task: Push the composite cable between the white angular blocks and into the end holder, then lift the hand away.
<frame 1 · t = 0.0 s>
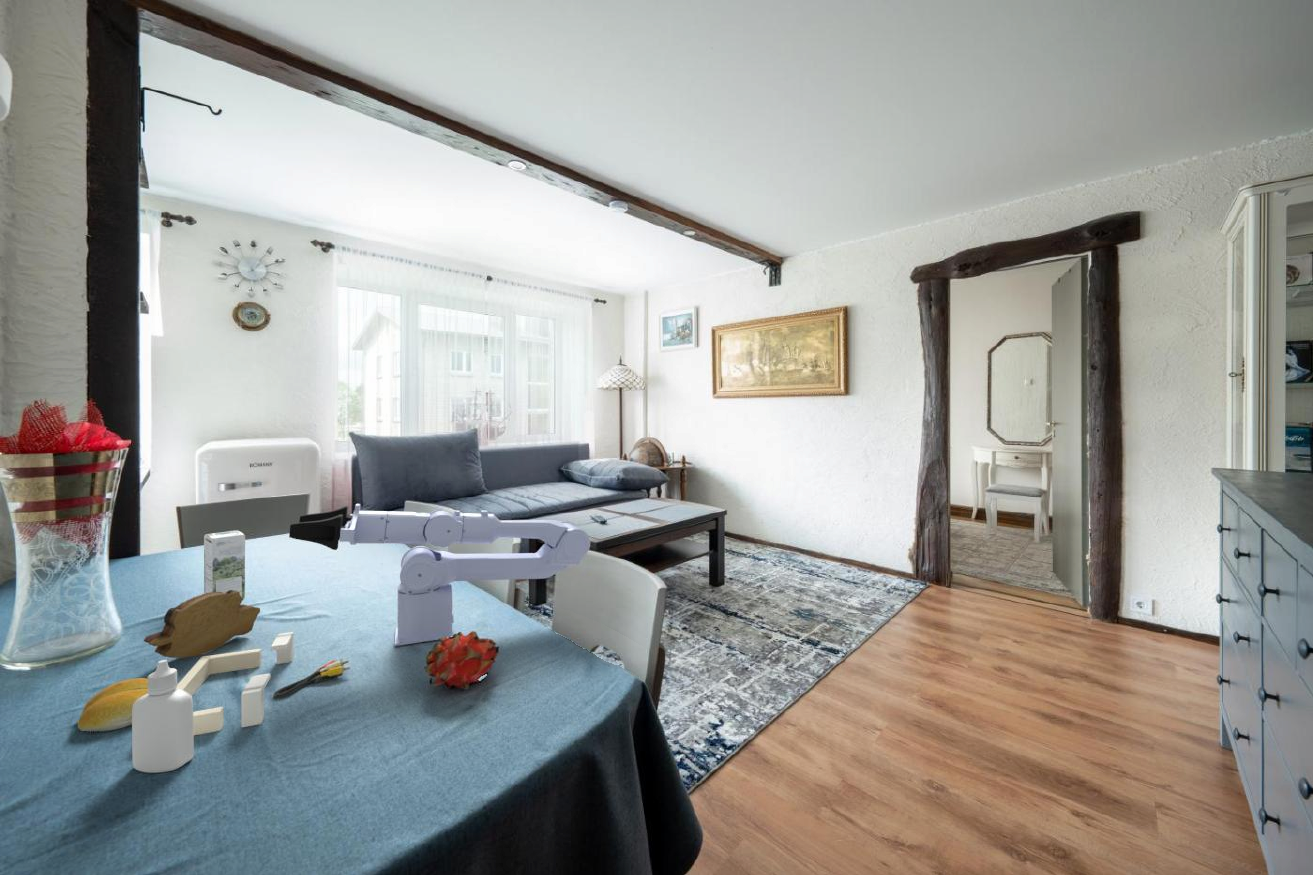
hand: (295, 526, 86), 22 cm above the table, tool horizontal, fingers open, 7 cm apart
syrup box: (225, 600, 111), on the table
composite cable: (311, 685, 78), on the table
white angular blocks: (270, 688, 76), on the table
bread roll: (124, 716, 69), on the table
eye dropper bottle: (163, 765, 59), on the table
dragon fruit: (463, 683, 79), on the table
end holder: (210, 698, 73), on the table
wooden carving: (205, 652, 87), on the table
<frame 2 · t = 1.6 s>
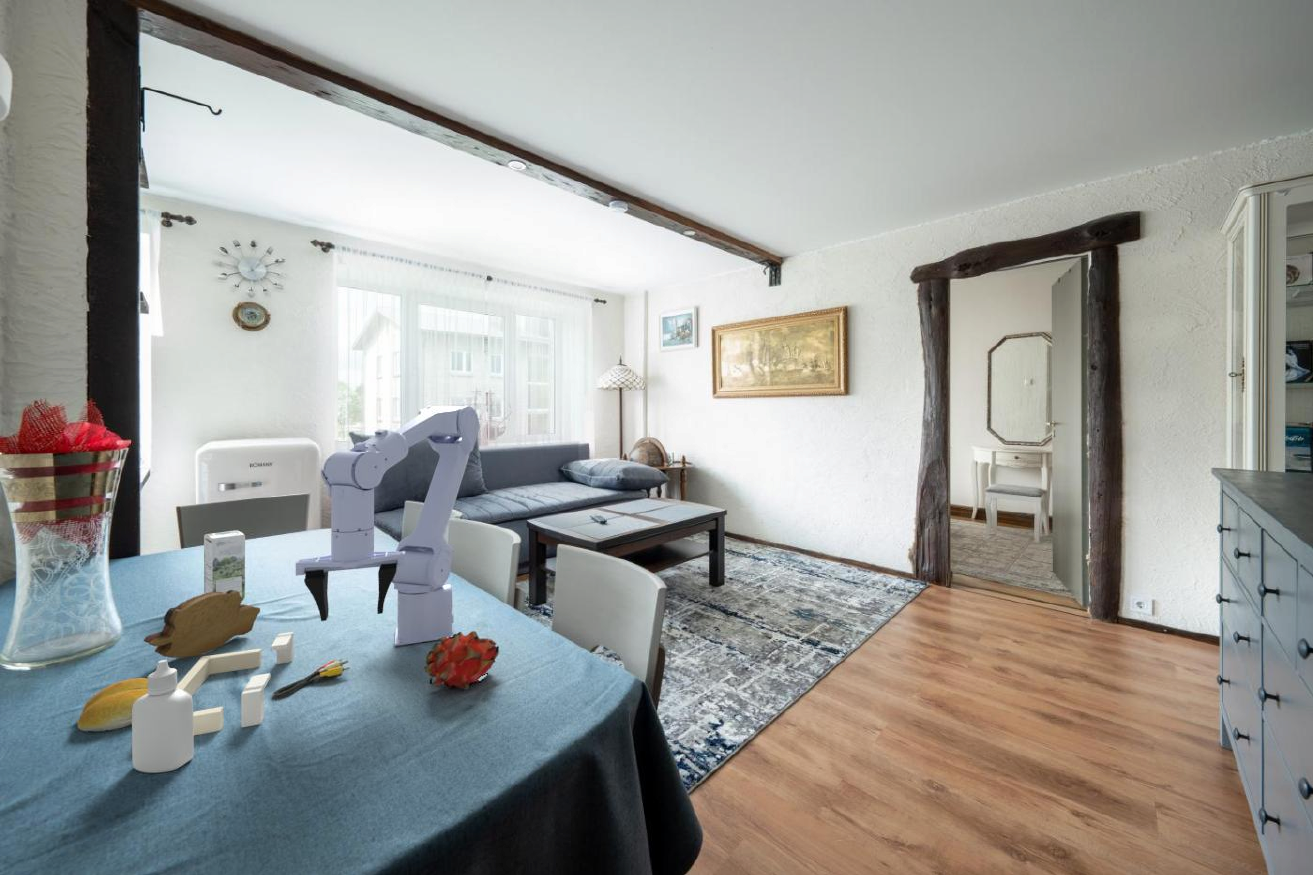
hand: (353, 615, 80), 9 cm above the table, tool pointing down, fingers open, 7 cm apart
nothing on the table moved.
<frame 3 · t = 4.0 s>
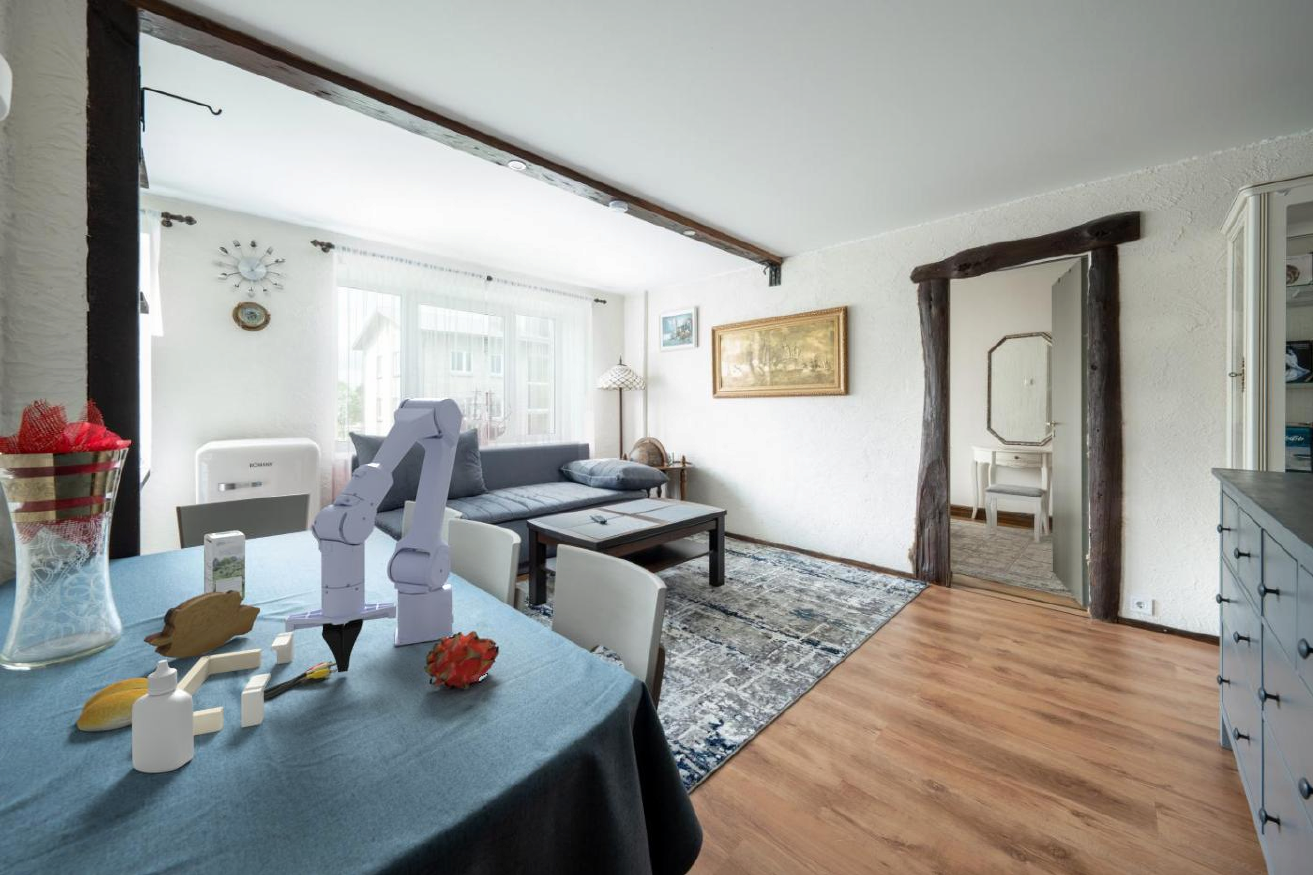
hand: (343, 669, 79), 1 cm above the table, tool pointing down, fingers closed
composite cable: (297, 686, 77), on the table, touching gripper
everything else where it was.
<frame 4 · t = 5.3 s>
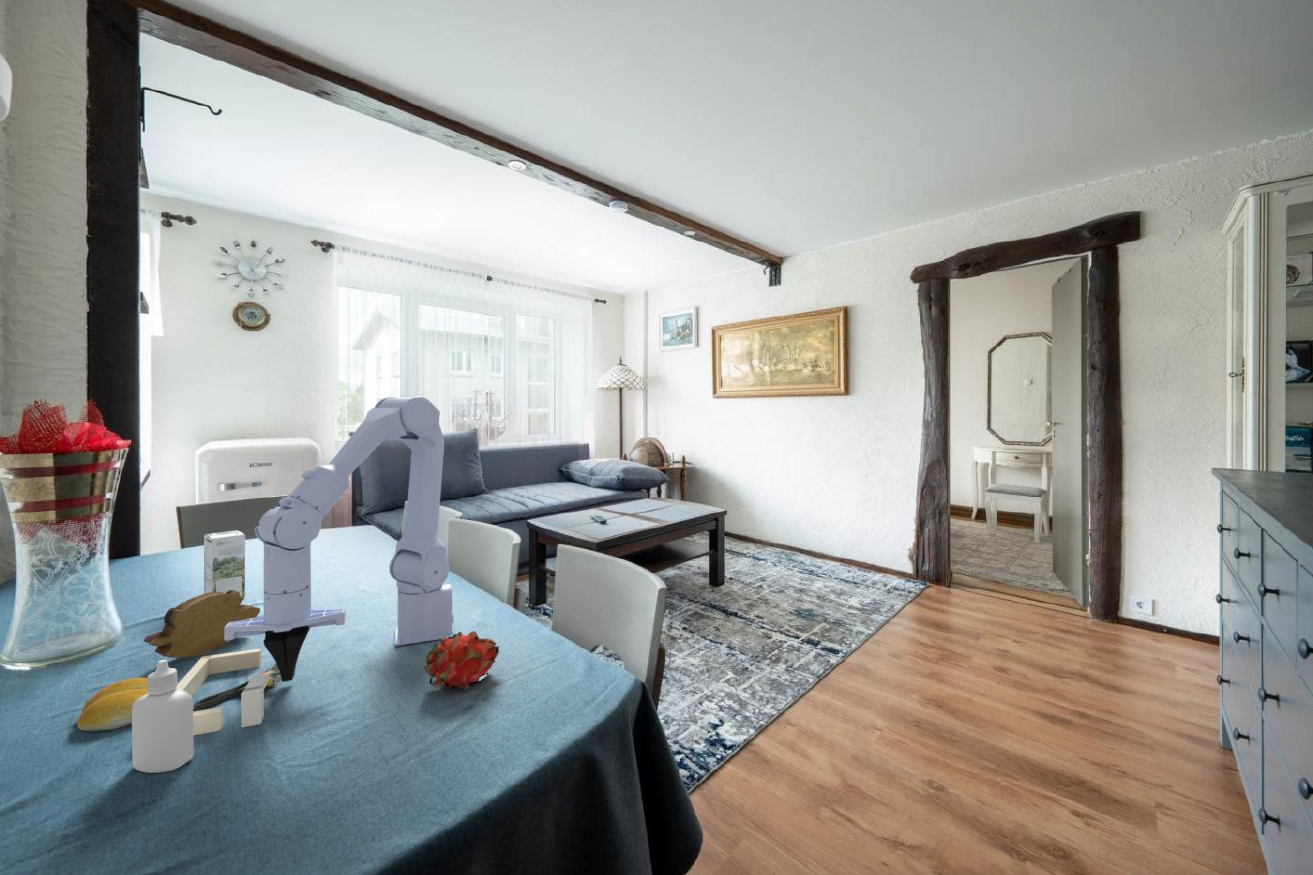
hand: (288, 678, 76), 1 cm above the table, tool pointing down, fingers closed
composite cable: (239, 695, 74), on the table, touching gripper
everything else where it was.
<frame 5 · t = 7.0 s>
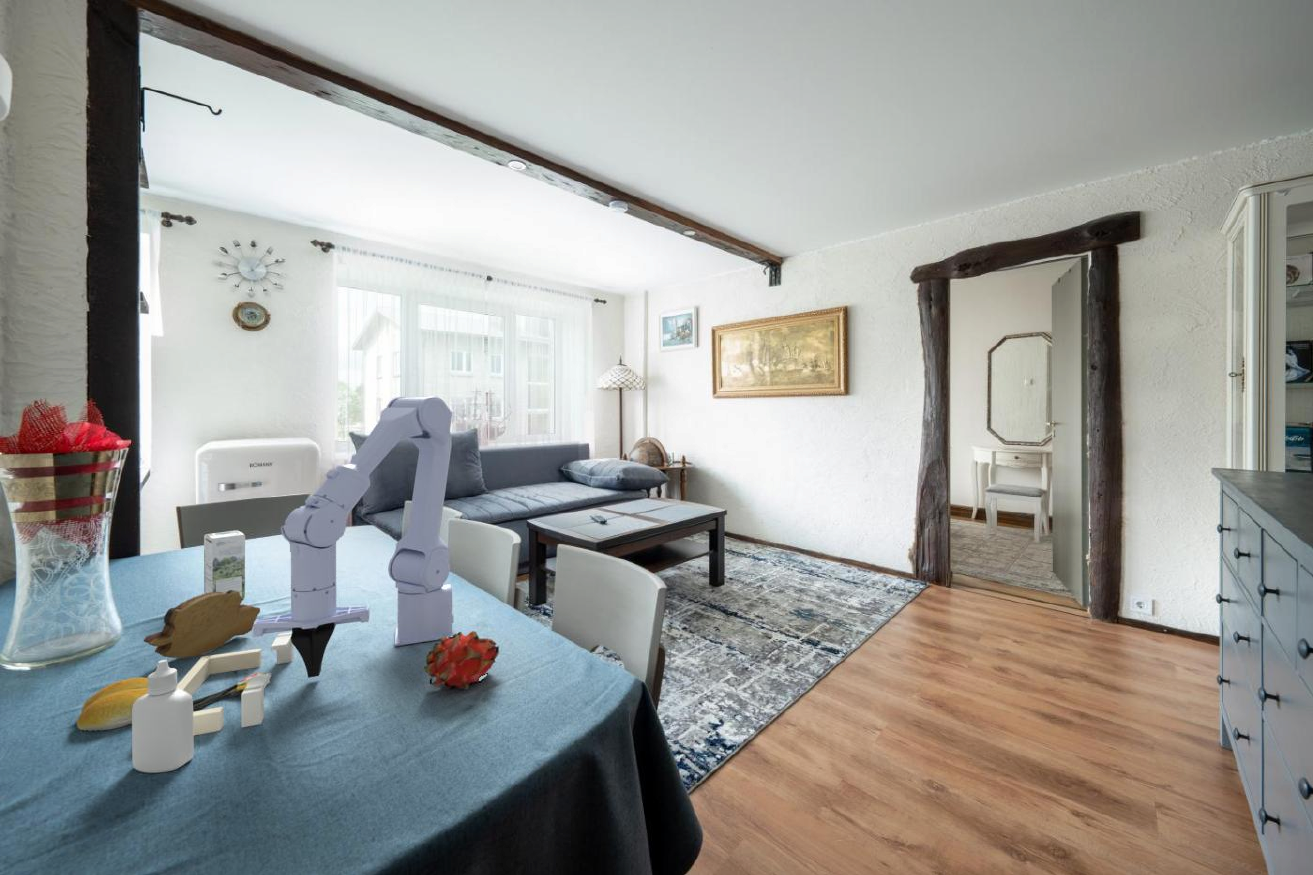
hand: (314, 673, 78), 1 cm above the table, tool pointing down, fingers closed
composite cable: (227, 698, 74), on the table
everything else where it was.
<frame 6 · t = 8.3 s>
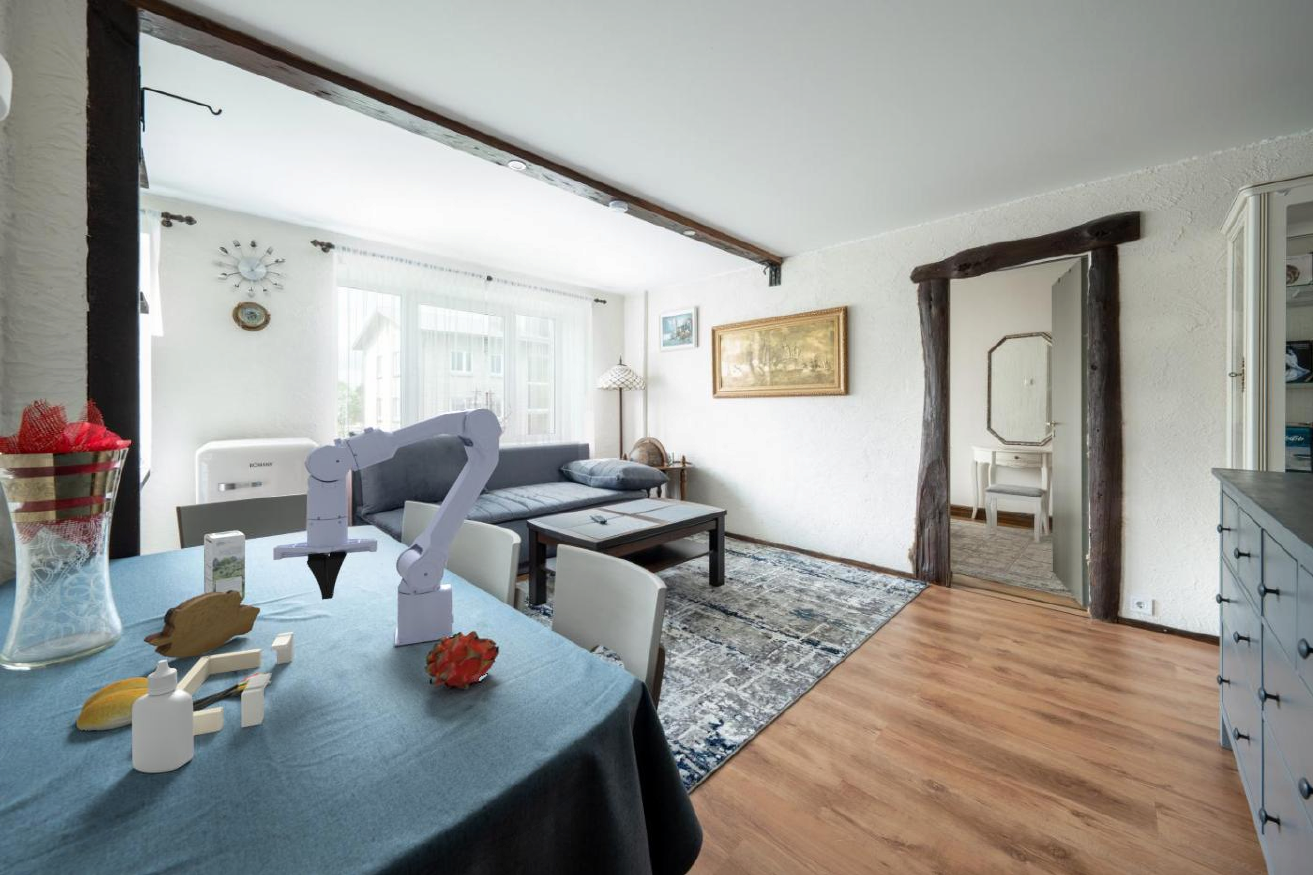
hand: (327, 597, 86), 10 cm above the table, tool pointing down, fingers closed
nothing on the table moved.
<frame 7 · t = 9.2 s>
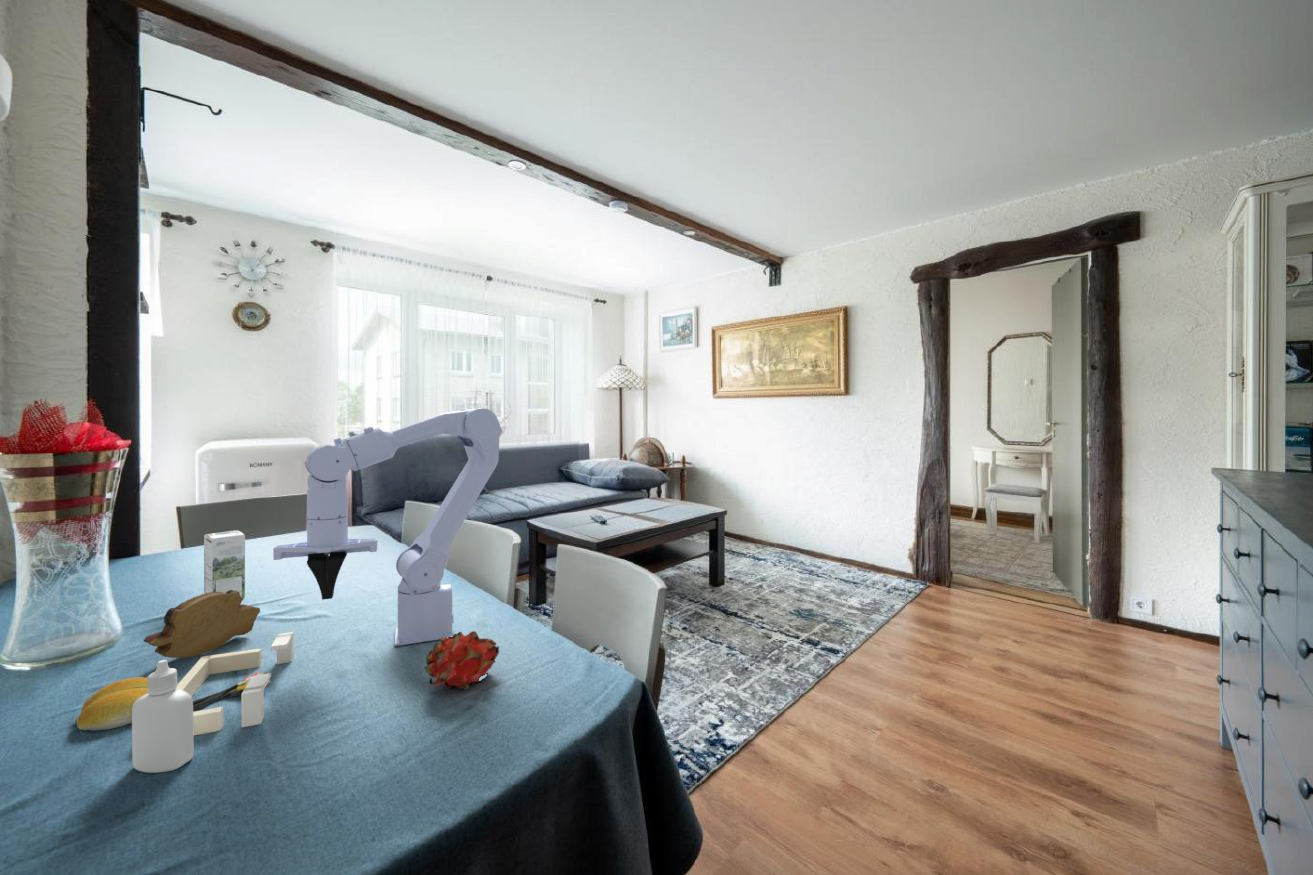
hand: (327, 597, 86), 10 cm above the table, tool pointing down, fingers closed
nothing on the table moved.
at the end: composite cable inside the target area (0.9 cm from its centre), on the table; composite cable moved 10.1 cm from its start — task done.
